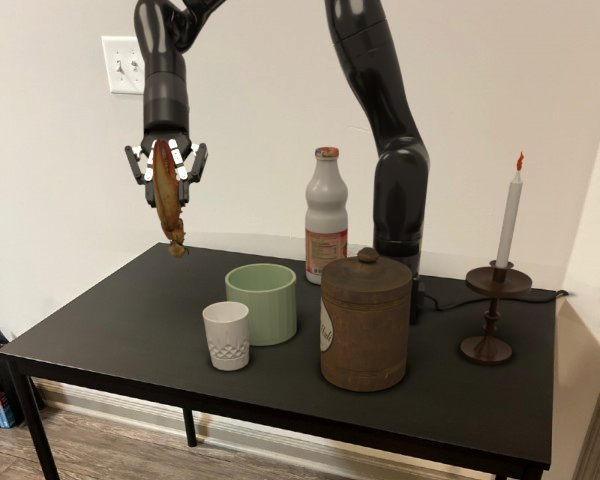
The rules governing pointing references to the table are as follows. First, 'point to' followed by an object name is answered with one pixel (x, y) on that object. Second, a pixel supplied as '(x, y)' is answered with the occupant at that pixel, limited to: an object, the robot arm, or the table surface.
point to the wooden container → (364, 321)
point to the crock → (265, 301)
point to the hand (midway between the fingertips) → (167, 204)
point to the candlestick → (497, 286)
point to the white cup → (227, 334)
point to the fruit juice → (325, 215)
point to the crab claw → (168, 198)
